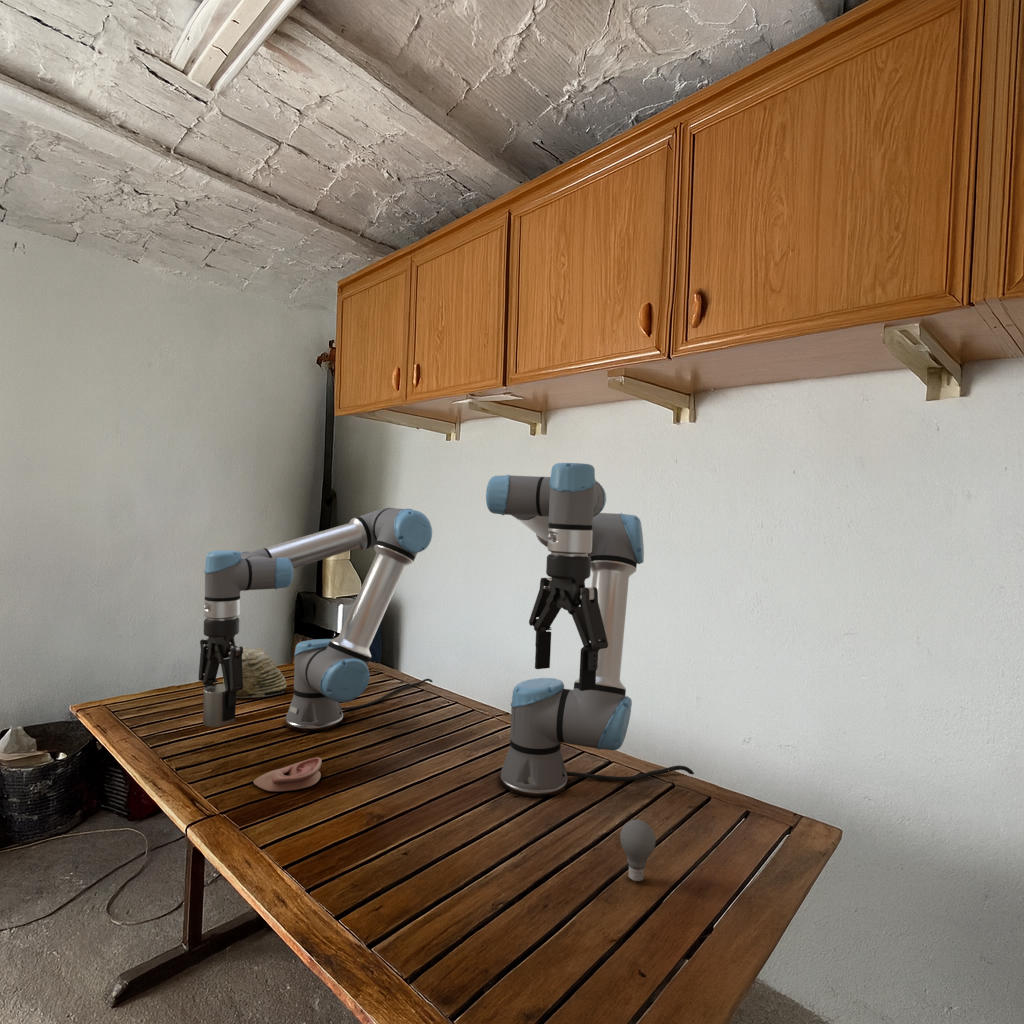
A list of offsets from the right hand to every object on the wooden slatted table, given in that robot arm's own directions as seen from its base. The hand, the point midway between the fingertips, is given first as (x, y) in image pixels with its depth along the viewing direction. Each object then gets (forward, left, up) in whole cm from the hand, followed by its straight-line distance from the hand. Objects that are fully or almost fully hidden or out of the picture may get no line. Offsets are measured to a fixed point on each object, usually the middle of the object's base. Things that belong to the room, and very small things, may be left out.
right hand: (563, 678), depth 108 cm
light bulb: (-12, +7, -34) cm, 37 cm away
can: (+47, -71, -24) cm, 89 cm away
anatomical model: (+34, -55, -34) cm, 74 cm away
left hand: (+47, -71, -23) cm, 88 cm away
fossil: (+33, -121, -34) cm, 130 cm away
